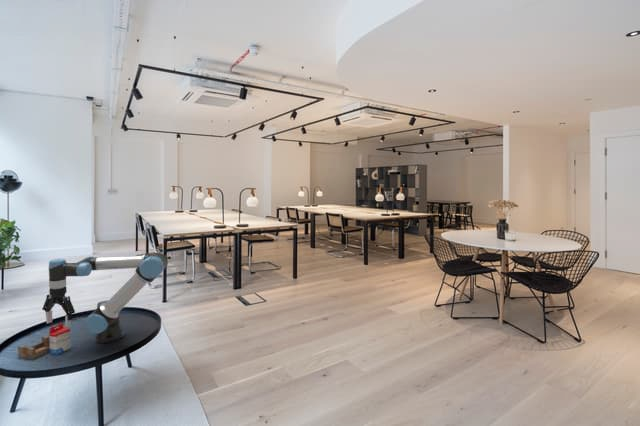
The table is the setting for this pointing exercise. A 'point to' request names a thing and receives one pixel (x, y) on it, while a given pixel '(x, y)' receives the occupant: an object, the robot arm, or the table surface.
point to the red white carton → (59, 339)
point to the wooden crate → (35, 349)
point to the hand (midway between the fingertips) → (58, 324)
